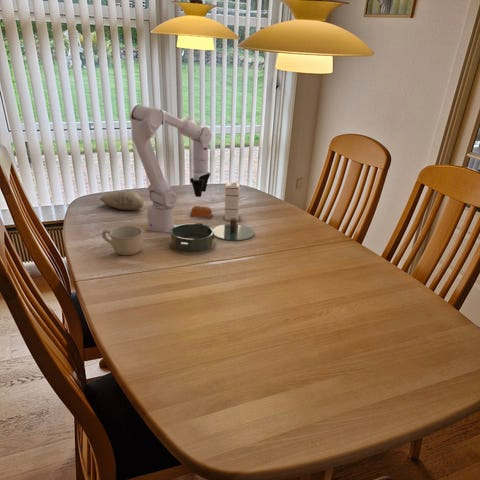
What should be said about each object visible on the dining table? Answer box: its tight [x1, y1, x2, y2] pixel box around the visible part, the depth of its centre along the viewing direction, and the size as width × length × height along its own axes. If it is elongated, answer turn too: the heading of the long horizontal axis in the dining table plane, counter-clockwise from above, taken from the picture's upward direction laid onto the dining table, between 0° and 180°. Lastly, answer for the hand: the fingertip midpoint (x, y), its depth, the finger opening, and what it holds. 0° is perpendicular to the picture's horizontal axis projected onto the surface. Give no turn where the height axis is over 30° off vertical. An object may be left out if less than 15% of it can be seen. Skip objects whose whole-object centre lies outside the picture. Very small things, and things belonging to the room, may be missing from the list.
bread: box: [190, 205, 213, 219], centre depth 185 cm, size 8×5×4 cm, turn 79°
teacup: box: [101, 224, 144, 256], centre depth 150 cm, size 14×11×8 cm
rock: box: [99, 190, 145, 211], centre depth 188 cm, size 8×11×20 cm
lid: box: [212, 218, 255, 242], centre depth 169 cm, size 16×16×6 cm
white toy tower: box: [224, 181, 241, 221], centre depth 181 cm, size 6×6×14 cm
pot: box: [169, 222, 215, 254], centre depth 158 cm, size 15×21×6 cm
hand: (200, 193), depth 178 cm, fingers open, 7 cm apart
